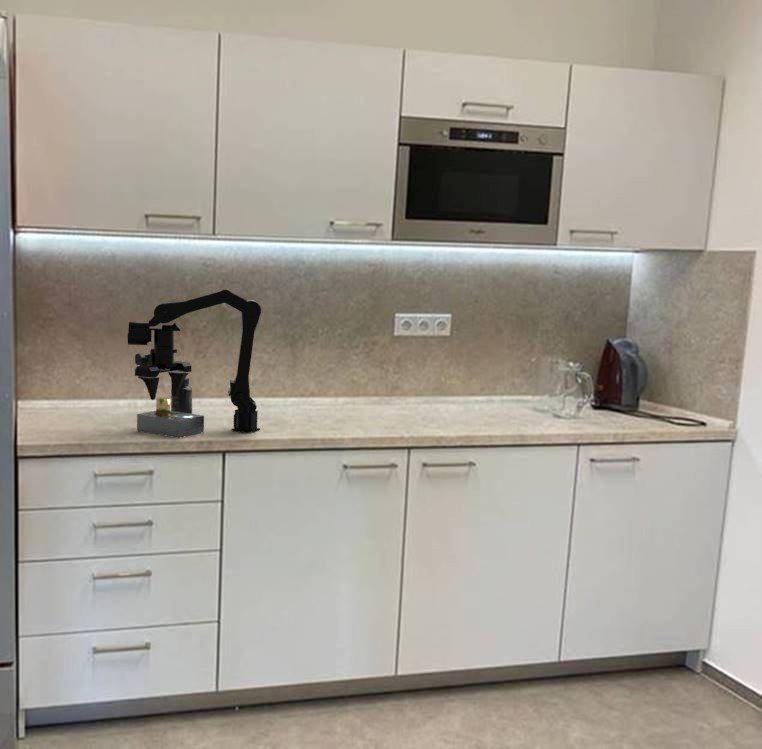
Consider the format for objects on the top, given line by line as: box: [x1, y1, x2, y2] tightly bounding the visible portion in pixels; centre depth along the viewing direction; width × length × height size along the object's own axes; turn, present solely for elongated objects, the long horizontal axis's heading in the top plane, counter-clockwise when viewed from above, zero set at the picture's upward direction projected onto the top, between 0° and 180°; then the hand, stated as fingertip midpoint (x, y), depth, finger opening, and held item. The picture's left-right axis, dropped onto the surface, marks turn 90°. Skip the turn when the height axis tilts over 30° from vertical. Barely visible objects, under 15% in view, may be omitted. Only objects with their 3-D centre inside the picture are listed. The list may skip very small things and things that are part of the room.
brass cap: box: [155, 397, 171, 417], centre depth 258 cm, size 5×5×8 cm
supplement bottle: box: [170, 377, 193, 414], centre depth 284 cm, size 7×7×12 cm
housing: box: [136, 410, 205, 439], centre depth 257 cm, size 16×11×5 cm
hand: (163, 397), depth 257 cm, fingers open, 9 cm apart
